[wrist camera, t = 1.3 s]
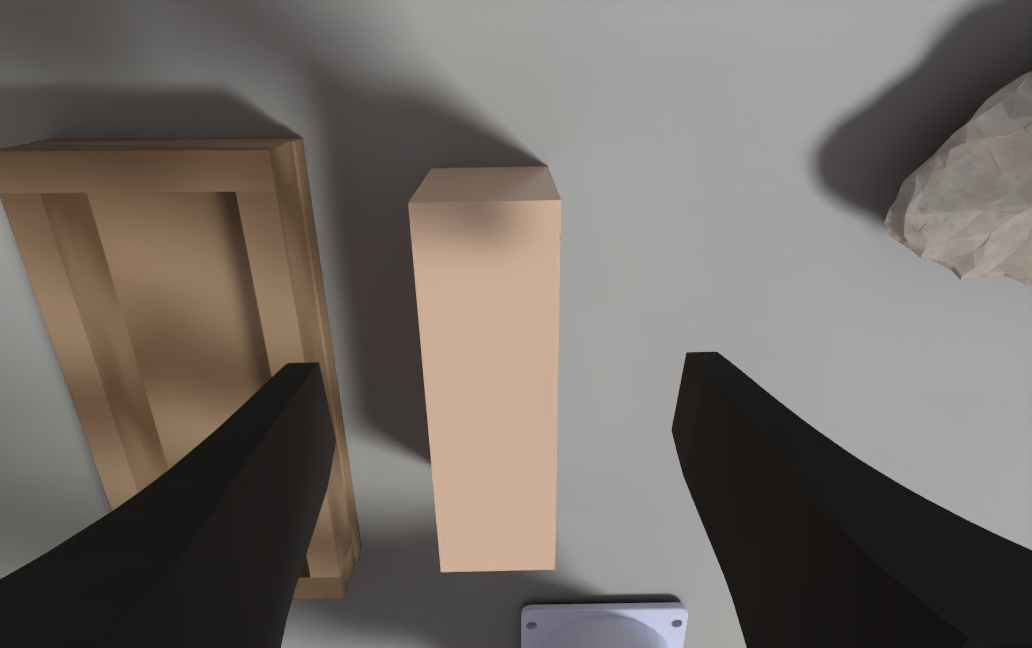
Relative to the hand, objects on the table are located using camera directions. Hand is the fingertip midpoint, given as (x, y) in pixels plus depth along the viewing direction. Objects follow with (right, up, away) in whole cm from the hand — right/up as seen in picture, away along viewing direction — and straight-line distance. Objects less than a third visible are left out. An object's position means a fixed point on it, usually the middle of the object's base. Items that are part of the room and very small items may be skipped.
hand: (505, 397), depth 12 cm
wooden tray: (-11, -1, +12) cm, 16 cm away
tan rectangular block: (-1, +1, +11) cm, 11 cm away
